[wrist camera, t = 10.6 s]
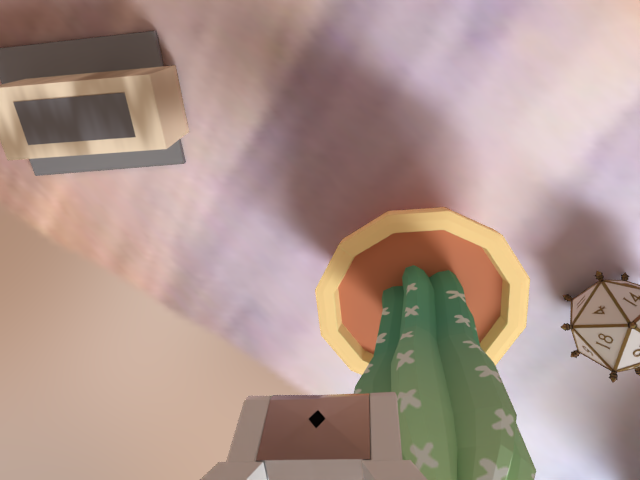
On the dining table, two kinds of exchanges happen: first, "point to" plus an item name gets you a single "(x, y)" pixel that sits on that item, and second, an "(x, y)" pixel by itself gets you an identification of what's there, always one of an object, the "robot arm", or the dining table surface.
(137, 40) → the mat
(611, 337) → the game die
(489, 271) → the potted cactus
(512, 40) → the dining table surface
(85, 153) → the birch block
